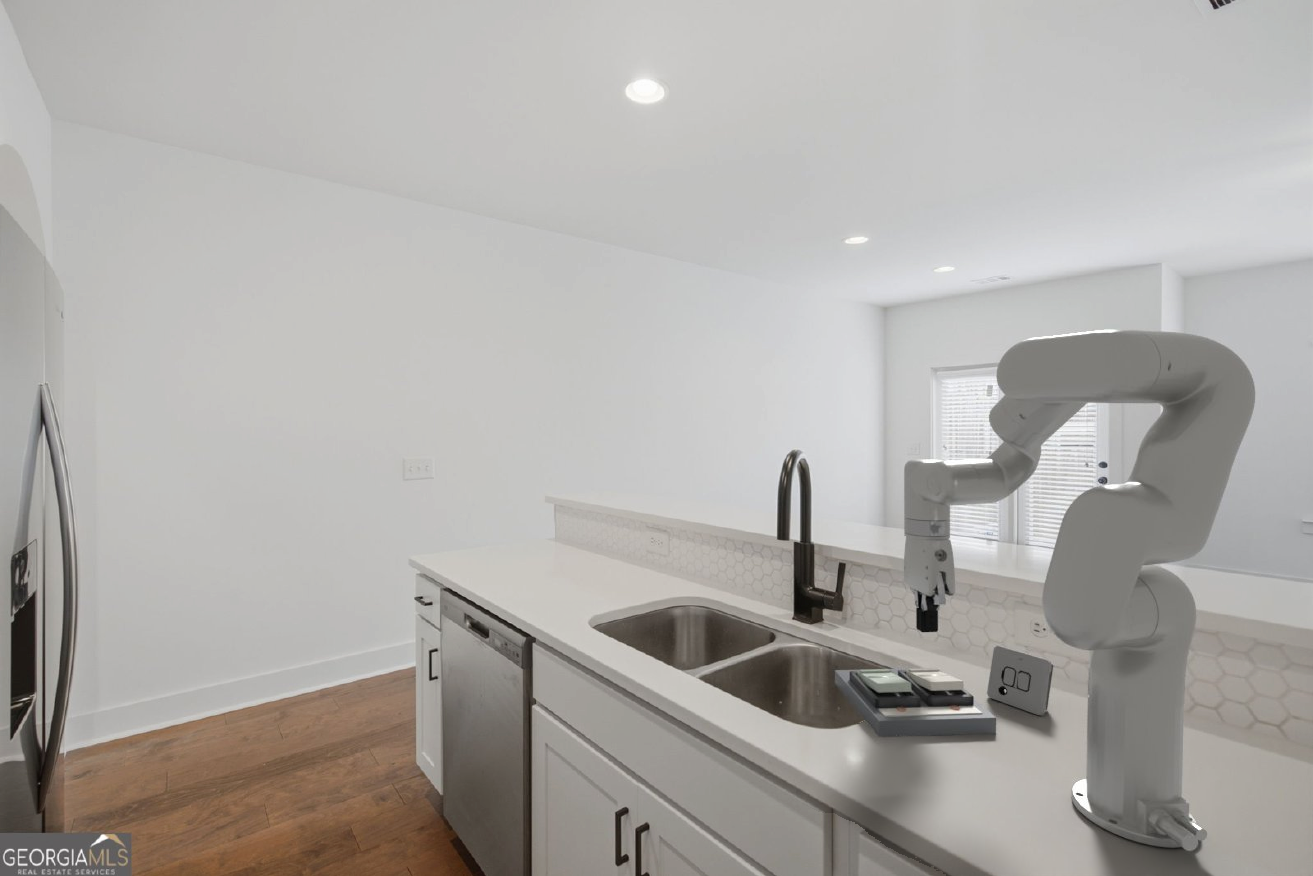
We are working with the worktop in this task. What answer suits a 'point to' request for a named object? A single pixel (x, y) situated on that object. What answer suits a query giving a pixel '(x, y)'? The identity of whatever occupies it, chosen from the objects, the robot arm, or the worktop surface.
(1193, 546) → the robot arm
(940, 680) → the rocker ivory
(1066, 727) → the worktop surface
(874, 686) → the rocker sage
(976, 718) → the switch panel
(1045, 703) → the electrical switch
